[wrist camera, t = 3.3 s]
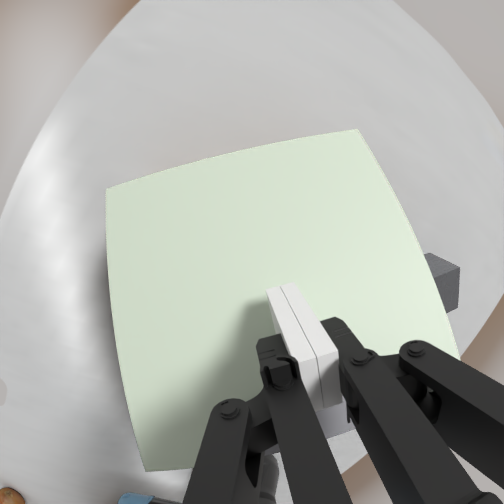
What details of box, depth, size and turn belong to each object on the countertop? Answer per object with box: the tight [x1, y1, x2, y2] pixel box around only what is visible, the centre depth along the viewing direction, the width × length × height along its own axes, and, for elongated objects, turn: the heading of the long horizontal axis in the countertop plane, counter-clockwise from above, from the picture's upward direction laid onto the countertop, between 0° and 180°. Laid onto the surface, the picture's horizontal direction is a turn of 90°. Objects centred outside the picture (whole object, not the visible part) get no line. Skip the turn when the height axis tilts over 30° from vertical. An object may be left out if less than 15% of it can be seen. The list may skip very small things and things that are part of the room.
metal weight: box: [424, 253, 460, 313], centre depth 37 cm, size 6×6×7 cm
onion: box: [0, 488, 25, 504], centre depth 43 cm, size 10×10×10 cm
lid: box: [106, 129, 461, 472], centre depth 18 cm, size 20×20×3 cm
